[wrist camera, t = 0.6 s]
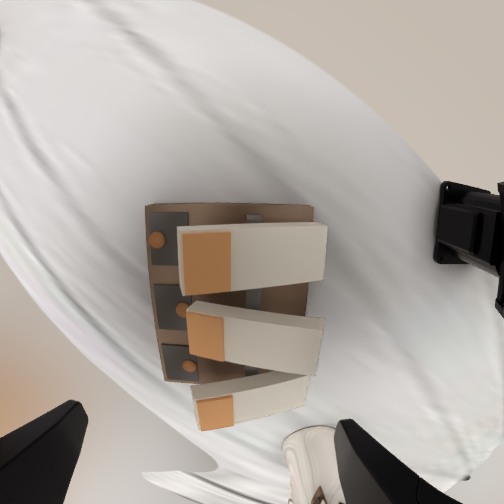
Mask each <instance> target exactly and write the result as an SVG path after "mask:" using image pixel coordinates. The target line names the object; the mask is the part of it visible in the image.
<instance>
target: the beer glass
mask: <svg viewBox="0 0 504 504" xmlns="http://www.w3.org/2000/svg"><path fill="white" fill-rule="evenodd" d="M334 433H335V429H333V428H330V427H326V426H315V427H309V428H305V429H302V430H299V431H297V432H295V433H293V434H291V435H290V436H289V437H287V438H286V439H285V440H284V442H283V444H282V451H283V454H284V457H285V459H286V461H287V464H288V467H289V472H290V488H289V498H288V504H346V502H345V498H344V495H343V491H342V487H341V484H340V480H339V475H338V468H337V460H336V453H335V446H334Z"/></svg>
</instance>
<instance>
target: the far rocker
mask: <svg viewBox="0 0 504 504" xmlns="http://www.w3.org/2000/svg"><path fill="white" fill-rule="evenodd" d="M309 377H310V376H309V375H301V374H294V373H287V372H281V371H272V372H267V373H262V374H258V375H253V376H248V377H242V378H237V379H232V380H226V381H220V382H213V383H207V384H200V385H192V386H191V393H192V400H193V406H194V412H195V417H196V421H197V424H198V428H199V430H201V431H207V430H213V429H219V428H225V427H230V426H234V424H235V423H240V422H245V421H249V420H253V419H258V418H262V417H266V416H270V415H273V414H277V413H281V412H284V411H288V410H291V409H294V408H298V407H301V406H304V404H305V398H306V393H307V388H308V383H309Z"/></svg>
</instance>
